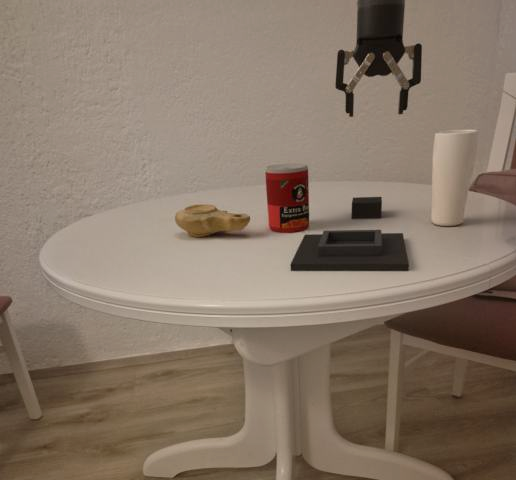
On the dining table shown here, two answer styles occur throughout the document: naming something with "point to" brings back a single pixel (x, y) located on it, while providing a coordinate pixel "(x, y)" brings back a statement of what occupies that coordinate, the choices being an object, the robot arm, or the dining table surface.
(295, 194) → the canned food
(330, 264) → the base pad
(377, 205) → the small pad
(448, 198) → the drinking glass
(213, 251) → the dining table surface
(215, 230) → the oil lamp
